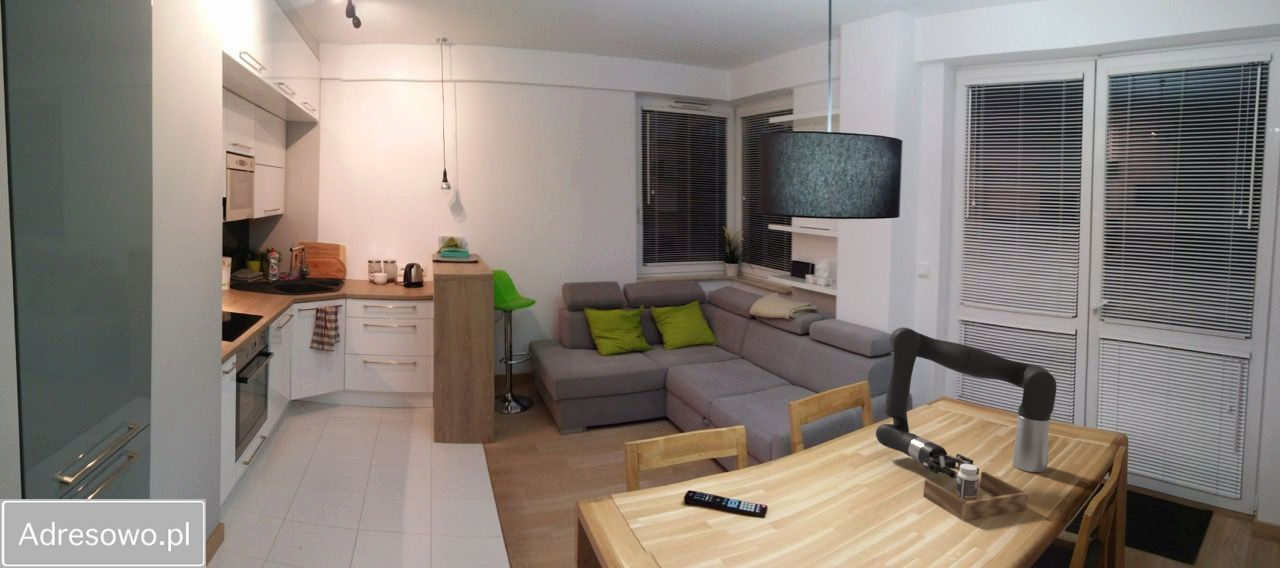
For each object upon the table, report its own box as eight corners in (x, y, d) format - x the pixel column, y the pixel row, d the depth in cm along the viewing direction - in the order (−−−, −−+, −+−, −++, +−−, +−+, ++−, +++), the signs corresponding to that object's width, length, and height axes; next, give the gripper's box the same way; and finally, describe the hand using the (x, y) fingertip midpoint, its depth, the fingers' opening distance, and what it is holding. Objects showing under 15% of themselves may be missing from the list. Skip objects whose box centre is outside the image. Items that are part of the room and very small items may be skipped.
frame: (983, 487, 221) (984, 471, 220) (1026, 510, 206) (1028, 493, 205) (923, 496, 213) (924, 480, 213) (963, 521, 199) (965, 503, 198)
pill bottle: (979, 498, 213) (982, 466, 211) (973, 505, 209) (976, 472, 207) (958, 492, 217) (961, 461, 215) (952, 499, 212) (955, 466, 211)
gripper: (909, 444, 224) (948, 464, 209) (946, 439, 229) (986, 458, 214) (907, 467, 225) (945, 488, 210) (944, 461, 230) (984, 482, 215)
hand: (966, 473), depth 212 cm, fingers open, 8 cm apart
